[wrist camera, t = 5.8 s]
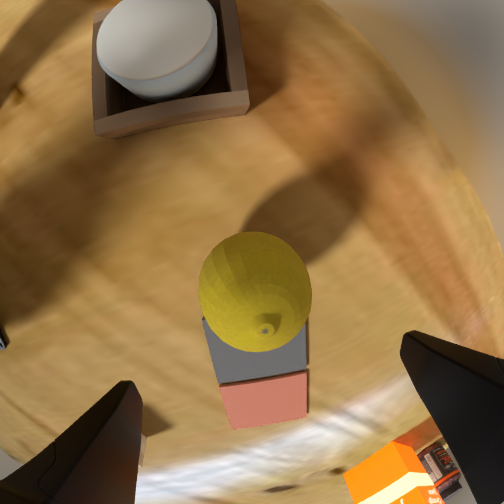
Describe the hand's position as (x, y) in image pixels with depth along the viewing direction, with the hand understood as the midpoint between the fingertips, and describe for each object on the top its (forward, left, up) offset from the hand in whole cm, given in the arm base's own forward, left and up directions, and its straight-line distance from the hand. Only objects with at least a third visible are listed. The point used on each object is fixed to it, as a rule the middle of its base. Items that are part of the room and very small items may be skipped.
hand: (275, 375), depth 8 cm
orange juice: (+15, -34, -11) cm, 39 cm away
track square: (0, -6, -10) cm, 12 cm away
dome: (-3, +13, -9) cm, 16 cm away
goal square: (0, -13, -10) cm, 17 cm away
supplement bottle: (+26, -40, -11) cm, 49 cm away
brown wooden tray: (-3, +13, -10) cm, 17 cm away
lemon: (0, 0, -11) cm, 11 cm away
